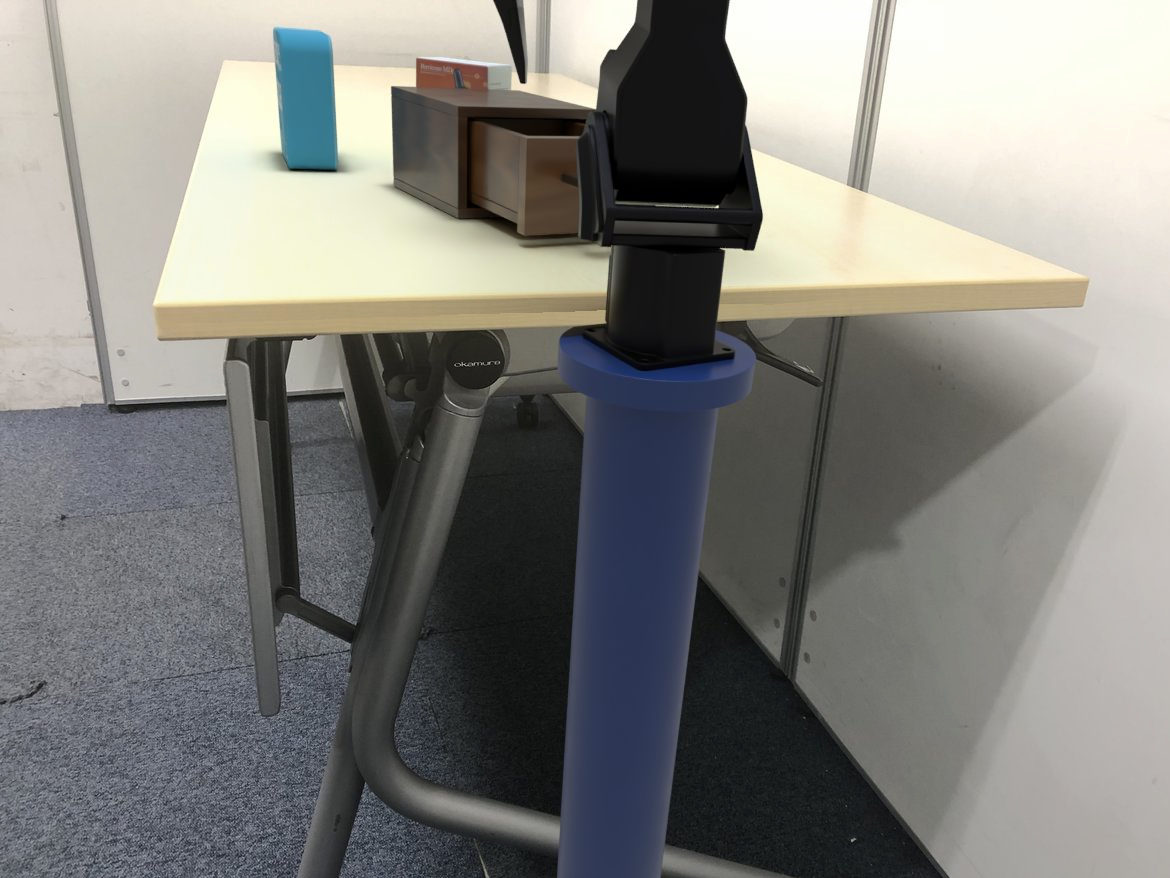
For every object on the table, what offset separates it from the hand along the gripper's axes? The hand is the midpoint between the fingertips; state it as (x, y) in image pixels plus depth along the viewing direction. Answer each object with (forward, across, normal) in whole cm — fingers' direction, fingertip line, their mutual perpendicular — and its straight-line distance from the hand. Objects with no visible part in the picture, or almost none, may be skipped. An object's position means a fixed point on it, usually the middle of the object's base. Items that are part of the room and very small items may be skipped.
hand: (586, 88), depth 71 cm
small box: (+11, +14, -28) cm, 33 cm away
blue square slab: (+11, +29, -25) cm, 40 cm away
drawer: (+10, +2, -2) cm, 10 cm away
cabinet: (+11, +9, -13) cm, 19 cm away
